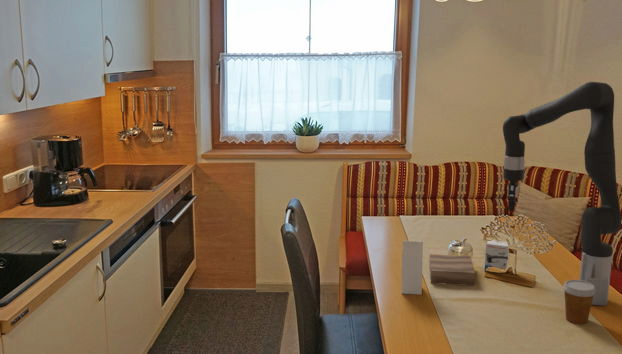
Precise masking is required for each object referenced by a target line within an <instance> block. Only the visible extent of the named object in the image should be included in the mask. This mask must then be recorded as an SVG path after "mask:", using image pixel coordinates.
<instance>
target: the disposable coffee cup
mask: <svg viewBox="0 0 622 354" xmlns="http://www.w3.org/2000/svg"><path fill="white" fill-rule="evenodd" d="M562 288H563V290H564V303H565V304H564V305H565V307H564V308H565V319H566V320H567V321H568V322H570V323H572V324H578V325H584V324H587V323H588V320H589V316H590V313H591V307H592V306H593V305H592V300H593V296H594V294H595V293H596V290H595V287H594V285H593V284H591V283H589V282H586V281H582V280H580V279H569V280H566V281H565V282H564V284H563V286H562Z"/></svg>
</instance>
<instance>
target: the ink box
mask: <svg viewBox="0 0 622 354" xmlns="http://www.w3.org/2000/svg"><path fill="white" fill-rule="evenodd" d="M491 240H492V241H488V240H487V241H486V243H485V255H484V271H485V270H486V269H487V268H488V267H497V268H500V269H505V268H506V266H507V260H508V244H507V241H502V240H501V241H500V240H493V239H491ZM497 241H498V242H497Z"/></svg>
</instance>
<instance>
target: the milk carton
mask: <svg viewBox="0 0 622 354" xmlns="http://www.w3.org/2000/svg"><path fill="white" fill-rule="evenodd" d="M423 245H424V241H419V240H418V241H416V240H415V241H414V240H402V251H401V252H402V253H401V294H402V295H403V294H405V295H418V296H419V295H420V296H421V295H422V291H423V290H422V289H423V288H422V287H423V256H424V255H423V253H424V252H423V251H424V250H423V249H424V246H423Z"/></svg>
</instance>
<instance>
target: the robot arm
mask: <svg viewBox="0 0 622 354" xmlns="http://www.w3.org/2000/svg"><path fill="white" fill-rule="evenodd" d="M614 92H615V91H614V89H613V88H612V86H611V85H610V84H608V83H606V82H599V81H589V82H588V81H587V82H586V83H584V84H582V85H580V86H578V87H576V88H575V89H573V90H572V91H570V92H569V93H567V94H565V95H562V96H561V97H559V98H557V99H553V100H552V101H550V102H547V103H545V104H541V105H540V106H536V107H534V108H532V109H530V110H528V111H527V112H525V113H523V114H519V115H512V116H508V117H506V118H505V120H504V122H503V124H502V134H503V140H504V143H505V149H504V150H505V151H504V160H503V173H502V174H503V180H506V181H509V182H507V188H506V189H507V201H508V202H507V204H508V205H507V210H508V211H509V212H513V211H515V206H516V197H517V196H518V190H519V183H518V182H519V181H523V180H524V178H525V176H524V175H525V165H526V164H525V162H526V161H525V151H526V145H525V142H524V141H523V140H521V139H520V134H525V133H528V132H530V131H532V130H535V129H536V128H539V127H542V126H545V125H548V124H550V123H553V122H555V121H557V120H559V119H561V118H562V117H563V116H565V115H567V114H570V113H572V112H573V113H574V112H577V111H583V110H589V112H590V129H589V134H588V135H587V139H586V142H585V145H584V150H583V151H584V152H583V153H584V166H585V167H584V168H585V172H586V173H587V175H588V176H589V178H590V179H591V181H592V182H593V184H594V185H595V187H596V188H597V191H598V193H599V197H600V206H599V207H598V206H595V207H594V206H593V207H587V208H586V209H585V210H584V211H583V213H582V215H581V216H582V217H581V226H580V227H581V234H580V242H581V243H580V244H581V247H582V248H581V249H582V250H581V261H580V273H579V280H582V281H586V282H589V283H591V284H593V285H594V287H595V290H596V293H595V294H594V296H593V300H592V305H591V306H604V307H605V306H606V307H607V304H608V302H609V294H610V293H609V292H610V281H611V272H612V260H613V252H614V249H613V246H612V245H611V244H609V243H607V242H605V241H602V235H612V234H616V233H618V232H619V231H620V229H621V226H622V213H621V206H620V200H619V195H618V186H617V175H616V174H617V173H616V154H615V153H616V151H615V150H616V149H615V133H614V132H615V131H614V112H615V111H614V109H615V108H614V107H615V93H614Z"/></svg>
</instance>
